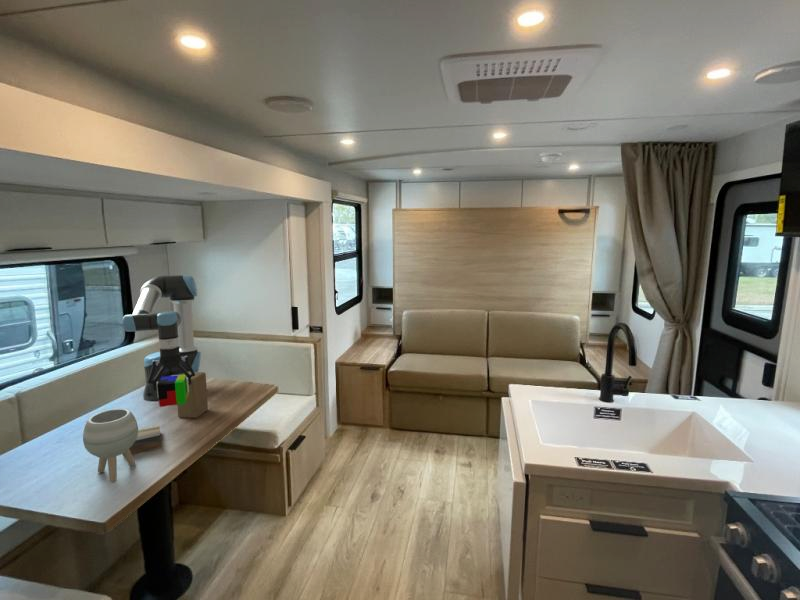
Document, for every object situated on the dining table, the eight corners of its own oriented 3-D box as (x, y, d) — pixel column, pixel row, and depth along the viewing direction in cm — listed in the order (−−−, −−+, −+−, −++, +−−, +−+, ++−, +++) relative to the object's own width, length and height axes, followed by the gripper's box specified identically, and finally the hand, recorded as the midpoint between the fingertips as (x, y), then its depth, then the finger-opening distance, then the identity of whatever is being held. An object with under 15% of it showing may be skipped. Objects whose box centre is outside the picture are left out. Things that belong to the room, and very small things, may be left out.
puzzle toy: (164, 397, 182) (161, 377, 180) (188, 394, 185) (186, 374, 183) (159, 406, 173) (157, 385, 171) (185, 403, 176) (183, 382, 174)
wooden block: (209, 409, 198) (206, 371, 195) (197, 419, 189) (194, 379, 185) (190, 408, 199) (187, 370, 196) (177, 417, 190) (173, 378, 186)
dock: (124, 439, 169) (123, 427, 168) (160, 432, 176) (158, 420, 175) (123, 456, 157) (121, 443, 156) (161, 447, 164) (160, 435, 163)
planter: (85, 472, 146) (77, 415, 142) (136, 455, 157) (131, 402, 154) (91, 492, 135) (84, 431, 131) (146, 473, 146) (141, 416, 142)
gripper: (137, 353, 165) (142, 402, 169) (200, 345, 177) (203, 391, 181) (137, 348, 171) (142, 396, 175) (198, 341, 184) (201, 386, 187)
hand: (173, 394), depth 178 cm, fingers closed on puzzle toy, 11 cm apart
